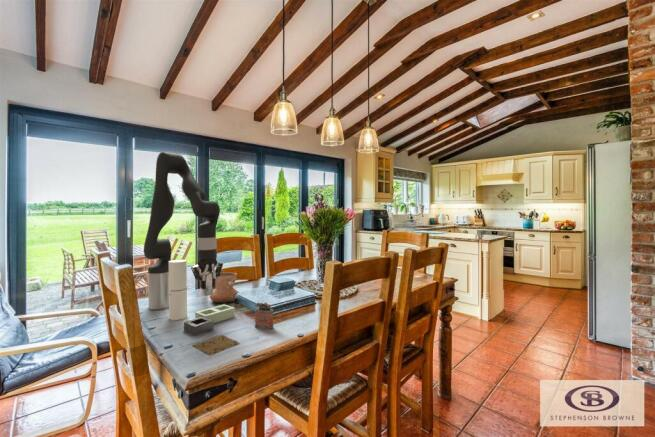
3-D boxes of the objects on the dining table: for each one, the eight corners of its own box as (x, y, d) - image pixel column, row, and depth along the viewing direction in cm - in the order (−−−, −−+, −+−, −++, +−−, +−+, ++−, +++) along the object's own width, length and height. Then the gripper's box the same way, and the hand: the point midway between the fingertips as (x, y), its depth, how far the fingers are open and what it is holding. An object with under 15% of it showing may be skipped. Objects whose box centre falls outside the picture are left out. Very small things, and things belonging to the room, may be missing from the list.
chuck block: (183, 330, 122) (183, 321, 122) (202, 324, 128) (202, 316, 128) (194, 335, 117) (194, 326, 117) (213, 329, 123) (213, 320, 123)
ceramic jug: (244, 302, 160) (244, 274, 160) (217, 307, 150) (216, 278, 150) (230, 295, 173) (230, 269, 173) (204, 299, 164) (204, 273, 164)
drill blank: (201, 294, 131) (201, 273, 131) (209, 292, 134) (209, 272, 134) (206, 295, 129) (206, 274, 129) (214, 294, 132) (214, 273, 132)
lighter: (275, 327, 126) (275, 302, 125) (270, 330, 123) (270, 305, 122) (257, 324, 128) (257, 300, 128) (253, 327, 125) (253, 303, 125)
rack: (195, 321, 132) (195, 312, 132) (224, 312, 143) (224, 304, 143) (205, 325, 127) (205, 316, 127) (234, 316, 138) (234, 307, 138)
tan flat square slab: (221, 335, 118) (221, 333, 118) (240, 344, 110) (240, 342, 110) (191, 346, 109) (191, 344, 109) (209, 357, 101) (209, 354, 101)
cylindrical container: (180, 320, 133) (179, 262, 132) (165, 319, 134) (164, 262, 134) (190, 314, 140) (190, 259, 139) (176, 313, 141) (176, 259, 141)
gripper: (217, 245, 139) (217, 283, 140) (186, 249, 128) (187, 290, 128) (227, 247, 134) (227, 286, 135) (196, 250, 123) (196, 293, 124)
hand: (207, 288), depth 132 cm, fingers closed on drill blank, 3 cm apart
